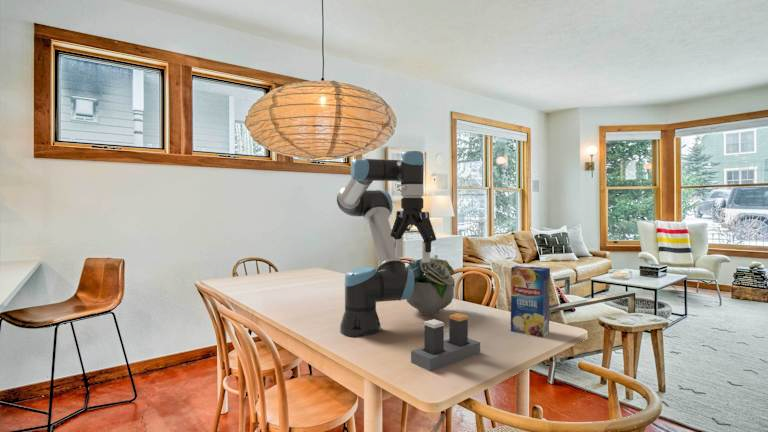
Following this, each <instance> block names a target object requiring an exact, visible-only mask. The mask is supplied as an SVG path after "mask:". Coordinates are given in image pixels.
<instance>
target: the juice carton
mask: <svg viewBox="0 0 768 432" xmlns="http://www.w3.org/2000/svg"><path fill="white" fill-rule="evenodd" d="M510 270H511V271H510V272H511V277H510V278H511V279H510V281H511V282H510V332H513V333H517V334H524V335H527V336H528V335H529V336H533V337H538V338H544V337H546V336H547V335H548V333H550V292H551V291H550V283H551V281H550V280H551V277H550V275H551V268H550V267H542V266H530V265H522V264H521V265H520V264H517V265H514V266H512V267H511V269H510Z"/></svg>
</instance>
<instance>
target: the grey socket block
mask: <svg viewBox="0 0 768 432" xmlns="http://www.w3.org/2000/svg"><path fill="white" fill-rule="evenodd" d="M479 354H481V342H480V341H478V340H475V339H472V338H469V337H468V344H467V345H464V346H461V347H459V346H456V345H453V344H451V343H449V339H448V340H445V341H444V352H442V353H439V354H436V355H432V354H430V353H427V352H425V351H424V346H423V347H420V348H415V349H413V350H411V351H410V364H414V365H415V366H417V367H420V368H422V369H424V370H426V371H428V372H433V371H435V370H438V369H442V368H445V367H446V366H449V365H452V364H455V363H458V362H460V361H462V360H463V361H464V360H466V359H468V358H471V357H474V356H478V355H479Z"/></svg>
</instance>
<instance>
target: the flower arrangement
mask: <svg viewBox="0 0 768 432" xmlns="http://www.w3.org/2000/svg"><path fill="white" fill-rule="evenodd" d="M406 269H411V270H412V271H413V273H414V280H415V283H414V291H413V294H412V296H411V297H410V298H409V299H405V300H406V302H407V303H408V304H409V305H410V306H411V307H413V308H415V309H417V311H418V314H420V315H422V316H437V315H438V314H440V311H441V310H443V309H445V308H447V307H448V306H449V305H450V304H452V301H453V300H454V299H453V298H454V293H455V292H454V291H455V283H456V282H455V278H454V277H453V275H454V274H455V271H454V268H453V267H452V266H451V265H450V263H449V262H448V261H447V260H446V259H444V260H443V259H440V258H439V259H438V258H437V259H436V258H434V257H430V262H425V263H423V262H422V258H421V259H416V260H415V261H412V260H409V262H408V265H406Z"/></svg>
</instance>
